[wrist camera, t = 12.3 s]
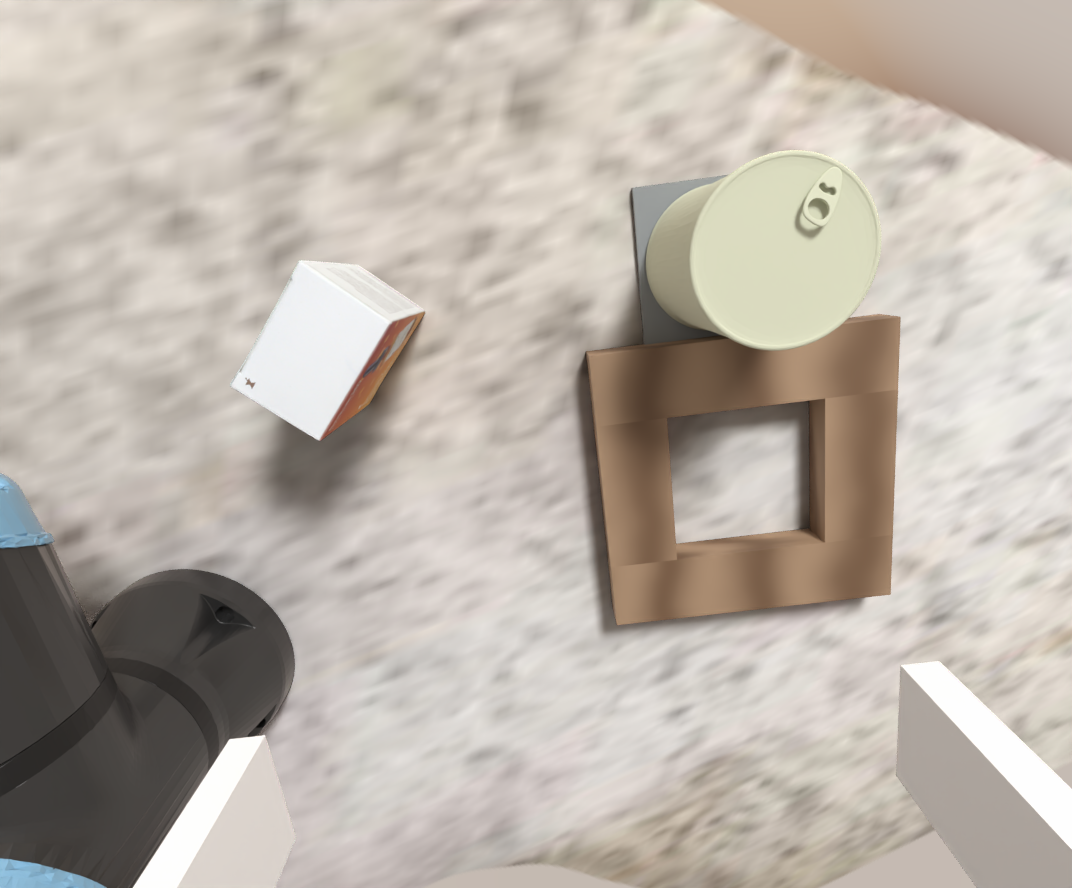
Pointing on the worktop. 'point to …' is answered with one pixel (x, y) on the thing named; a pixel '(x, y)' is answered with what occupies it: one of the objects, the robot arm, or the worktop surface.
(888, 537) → the housing
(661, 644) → the worktop surface
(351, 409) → the small box
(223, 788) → the robot arm
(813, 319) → the can
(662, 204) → the mat
